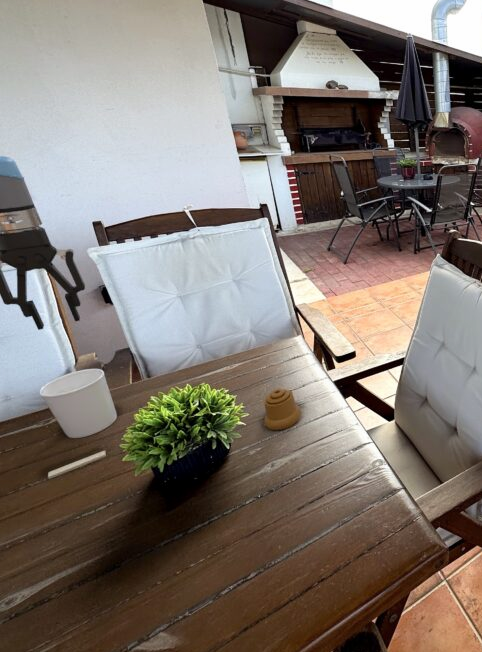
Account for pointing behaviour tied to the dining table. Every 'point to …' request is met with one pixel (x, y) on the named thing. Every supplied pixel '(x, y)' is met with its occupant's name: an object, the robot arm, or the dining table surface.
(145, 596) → the dining table surface
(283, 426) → the ornamental finial
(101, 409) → the white tapered cylinder
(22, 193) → the robot arm
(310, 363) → the dining table surface
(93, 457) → the strip
